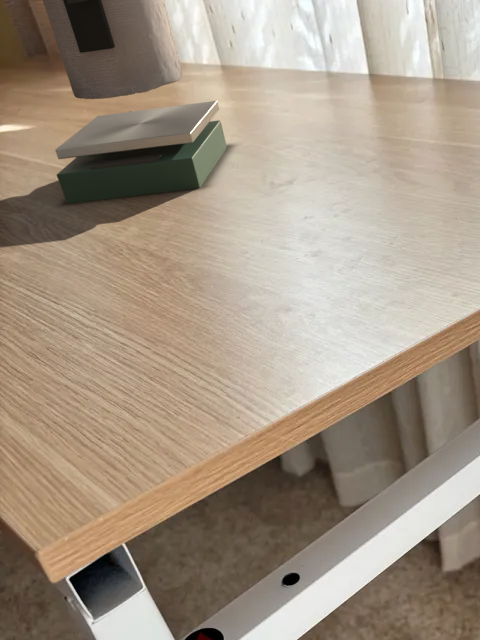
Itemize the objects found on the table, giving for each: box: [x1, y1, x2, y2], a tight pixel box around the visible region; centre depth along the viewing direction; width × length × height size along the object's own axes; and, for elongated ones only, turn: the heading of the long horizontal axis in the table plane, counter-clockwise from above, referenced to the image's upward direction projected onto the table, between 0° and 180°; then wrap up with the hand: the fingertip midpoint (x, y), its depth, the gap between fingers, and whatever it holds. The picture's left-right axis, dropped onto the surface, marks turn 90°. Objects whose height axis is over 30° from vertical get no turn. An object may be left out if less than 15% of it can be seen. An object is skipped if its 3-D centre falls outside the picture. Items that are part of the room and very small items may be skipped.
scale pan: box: [54, 100, 220, 160], centre depth 74 cm, size 12×12×1 cm
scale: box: [56, 119, 228, 205], centre depth 75 cm, size 12×13×3 cm
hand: (115, 39), depth 70 cm, fingers closed on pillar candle, 10 cm apart
